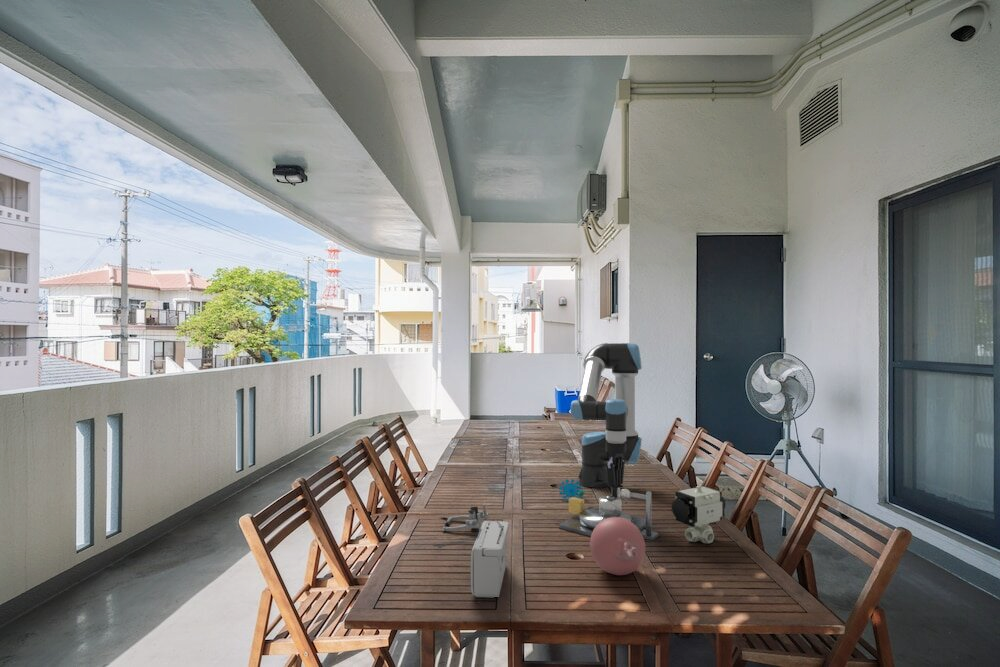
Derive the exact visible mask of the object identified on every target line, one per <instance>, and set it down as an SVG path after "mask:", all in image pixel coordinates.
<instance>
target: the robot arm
mask: <svg viewBox="0 0 1000 667" xmlns="http://www.w3.org/2000/svg"><path fill="white" fill-rule="evenodd" d="M641 358H642V357H641V352H640V347H639V345H638V344H636V343H629V342H628V343H626V342H625V343H608V342H605V343H601V344H600V343H599V344H598V345H596V346H594V347H593V348H591V350H589V351H588V353H587V354H586V356H585V357H584V359H583V364H582V365H583V369H584V371H583V375H582V380H581V384H580V390H579V394H578V399H575V400H572V401H571V403H570V416H571V418H572V419H574V420H580V421H601V422H603V421H604V422H605V431H594V432H588V433H585V434H583V435H582V436H581V468H580V471H579V474H578V477H577V481H578V482H579V486H580V485H582V487H587V488H596V489H597V488H607V487H608V488H611V496H614V497H618V498H620V499H621V496H620V491H621V488H623V487H624V485H623V484H624V474H625V466H626V465H625V464H637V463H638V462H639V461H640V460H639V459H640V455H641V453H640V452H641V448H642V447H641V446H642V437H640V436H639V433H638V431H637V430H636V419H635V418H636V409H635V407H636V399H635V398H636V394H635V392H636V389H635V388H636V382H635V381H636V380H635V379H636V376H637V375H638V374H639V370H642V368H643V367H642V361H641ZM605 369H606V370H607V369H608V370H611V373H612V375H613V376H614V377H615V380H614V381H615V383H614V384H615V387H614V388H615V392H614V393H615V396H614V397H615V398H610V399H606V400H605V401H601V400H600V401H598V397H599V396H598V395H599V390H600V385H601V378H602V374H603V372H604V370H605Z"/></svg>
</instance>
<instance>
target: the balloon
mask: <svg viewBox="0 0 1000 667" xmlns="http://www.w3.org/2000/svg"><path fill="white" fill-rule="evenodd" d="M641 532H642V531H640V530H639V529H638V528H637V527H636V526H635V525H634V524H633V523H632V522H630V521H629V520H627V519H624V518H620V517H610V518H607V519H604V520H603V521H601V522H600V523H599V524H598V525H597V526H596V527H595V528H594V530H593V532H592V535H591V536H590V540H589V546H590V552H591V555H592V558H593V560H594V561H595V563H596V564H597V565H598V566H599V568H600V569H602V570H603V571H605V572H607V573H609V574H610V575H615V576H625V575H629V574H632V573H633V572H635V571H636V570H637V569H638V568H640V566H641V564H642V563H643V561H644V560H645V556H646V555H645V554H646V543H645V542H646V541H645V538H643V536H642V534H641Z"/></svg>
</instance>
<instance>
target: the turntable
mask: <svg viewBox="0 0 1000 667" xmlns="http://www.w3.org/2000/svg"><path fill="white" fill-rule="evenodd" d="M568 498H569V501H568V513H571V514H574V515H577V514H578V515H580V522H581V524H583V525H584V526H586V527H589V528H592V529H594V528H595V527H596V526H597V525H598V524H599V523H600V522H601V521H603V520H604V519H607V518H610V517H607V516H603V515H601V514H600V513H599V507H594V508H592V509H587V508H586V509H587V510H585V499H584V498H578V497H576V496H575V497H571V498H570V497H568ZM629 515H630V514H628V513H627V512H624V511H622V514H621V515H620V516H618V517H620V518H624V519H627V520H629V521H630V522H631V517H630V516H631V515H630V516H629Z"/></svg>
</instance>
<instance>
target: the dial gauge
mask: <svg viewBox="0 0 1000 667" xmlns="http://www.w3.org/2000/svg"><path fill="white" fill-rule="evenodd" d="M630 498H636V499H641V500H645V519H646V527H645V528H644V529H642V530H641V531H640V532H641V534H642V536H643V538H644V540H645V539H646V540H650V541H655V539H657V538H658V537H659V532H657V531H654V530H653V531H652V491H649V490H647V491H645V494H643V493H639V492H638V493H637V492H632V491H630V490H629V489H628V488H622V489H620V499H621V500H625V502H624V503H625V505H627V504H628V500H629V499H630Z"/></svg>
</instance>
